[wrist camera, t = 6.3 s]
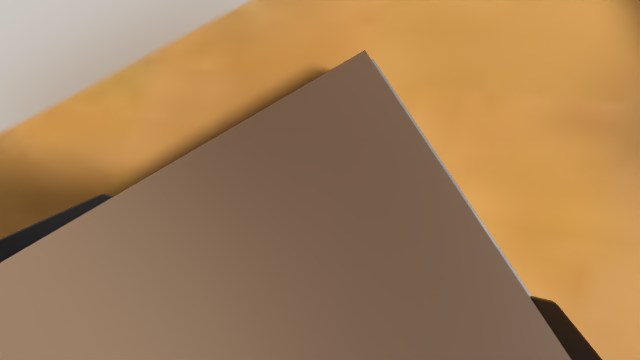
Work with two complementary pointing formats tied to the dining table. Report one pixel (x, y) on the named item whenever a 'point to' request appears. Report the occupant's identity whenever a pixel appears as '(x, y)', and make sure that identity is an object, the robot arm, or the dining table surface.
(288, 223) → the walnut block
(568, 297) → the dining table surface
